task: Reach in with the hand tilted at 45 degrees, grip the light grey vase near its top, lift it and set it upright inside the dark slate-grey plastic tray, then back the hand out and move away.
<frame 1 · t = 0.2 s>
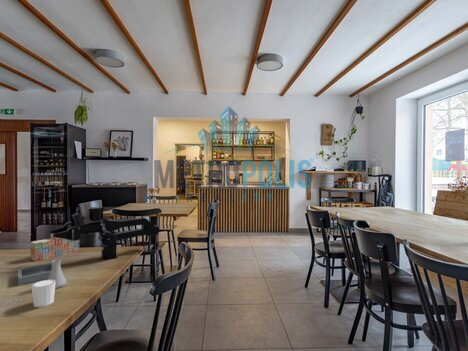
hand: (51, 233, 121), 17 cm above the table, tool horizontal, fingers open, 9 cm apart
stack of blocks: (56, 255, 142), on the table
light grey vase: (56, 286, 103), on the table
tray: (37, 276, 112), on the table
white cup: (43, 303, 90), on the table
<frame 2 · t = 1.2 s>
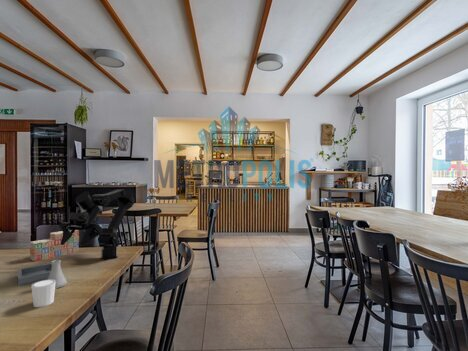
hand: (71, 245, 112), 14 cm above the table, tool tilted 45°, fingers open, 9 cm apart
nothing on the table moved.
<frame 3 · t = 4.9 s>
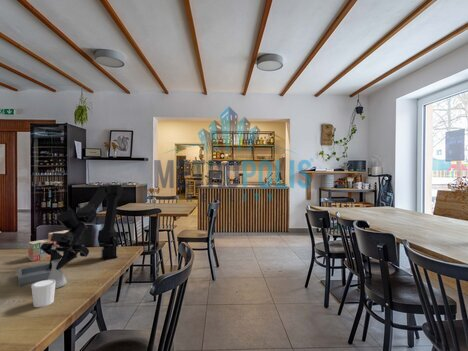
hand: (53, 269, 102), 7 cm above the table, tool tilted 45°, fingers closed on light grey vase, 3 cm apart
light grey vase: (56, 286, 103), on the table, touching gripper
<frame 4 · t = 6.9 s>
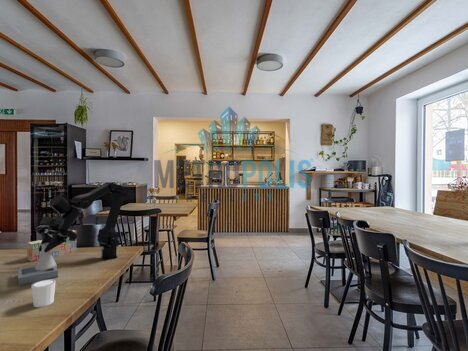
hand: (42, 251, 105), 13 cm above the table, tool tilted 45°, fingers closed on light grey vase, 3 cm apart
light grey vase: (46, 268, 106), point 6 cm above the table, touching gripper
when the fingers open (9 cm above the table, at t = 9.0 s): light grey vase drops 1 cm, resting on tray.
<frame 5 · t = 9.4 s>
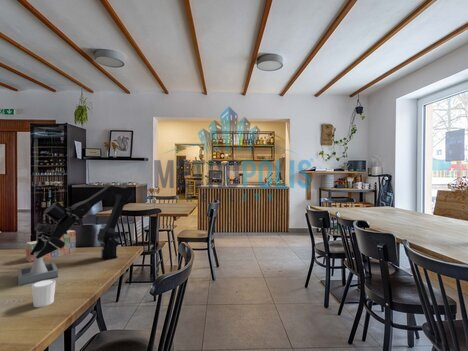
hand: (33, 256, 111), 9 cm above the table, tool tilted 45°, fingers open, 7 cm apart
light grey vase: (38, 275, 112), resting on tray
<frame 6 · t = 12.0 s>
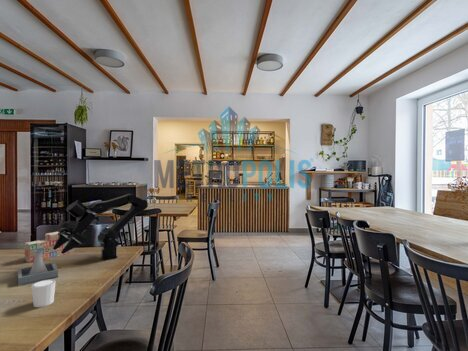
hand: (57, 251, 118), 9 cm above the table, tool tilted 45°, fingers open, 9 cm apart
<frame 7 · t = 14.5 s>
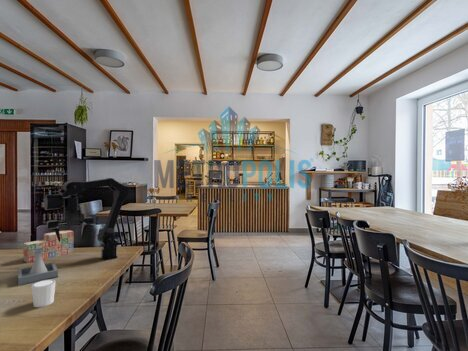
hand: (71, 240, 124), 13 cm above the table, tool pointing down, fingers open, 9 cm apart
at the end: light grey vase inside the target area on the tray (0.2 cm from its centre), point 0.4 cm above the tray's base; light grey vase tilted 0°; the gripper is holding nothing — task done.
